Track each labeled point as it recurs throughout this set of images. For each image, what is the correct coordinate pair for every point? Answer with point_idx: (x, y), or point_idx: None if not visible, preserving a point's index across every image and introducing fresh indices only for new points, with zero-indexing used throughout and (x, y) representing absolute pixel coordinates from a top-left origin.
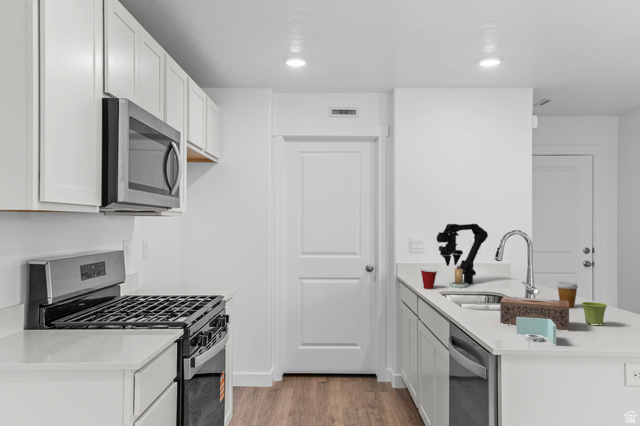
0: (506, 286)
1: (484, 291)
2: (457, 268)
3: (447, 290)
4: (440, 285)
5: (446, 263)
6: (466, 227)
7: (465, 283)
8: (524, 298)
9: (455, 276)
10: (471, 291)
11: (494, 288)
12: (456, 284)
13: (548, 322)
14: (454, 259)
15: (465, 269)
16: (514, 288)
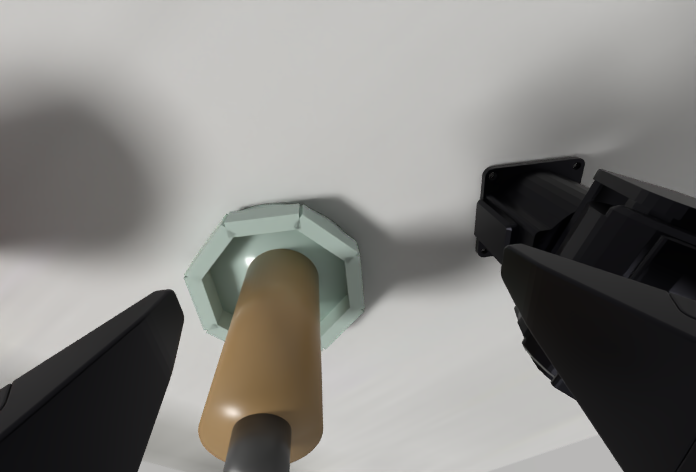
0: (569, 406)
1: None
2: (229, 442)
3: (28, 356)
4: (168, 121)
5: (105, 333)
6: None
7: (336, 319)
8: None
9: (226, 336)
10: (184, 437)
11: (427, 422)
12: (202, 325)
13: None
14: (629, 335)
15: (524, 336)
16: (514, 457)
